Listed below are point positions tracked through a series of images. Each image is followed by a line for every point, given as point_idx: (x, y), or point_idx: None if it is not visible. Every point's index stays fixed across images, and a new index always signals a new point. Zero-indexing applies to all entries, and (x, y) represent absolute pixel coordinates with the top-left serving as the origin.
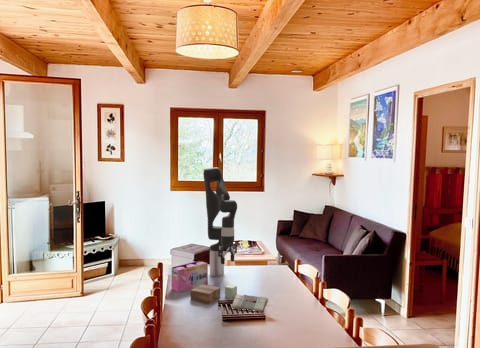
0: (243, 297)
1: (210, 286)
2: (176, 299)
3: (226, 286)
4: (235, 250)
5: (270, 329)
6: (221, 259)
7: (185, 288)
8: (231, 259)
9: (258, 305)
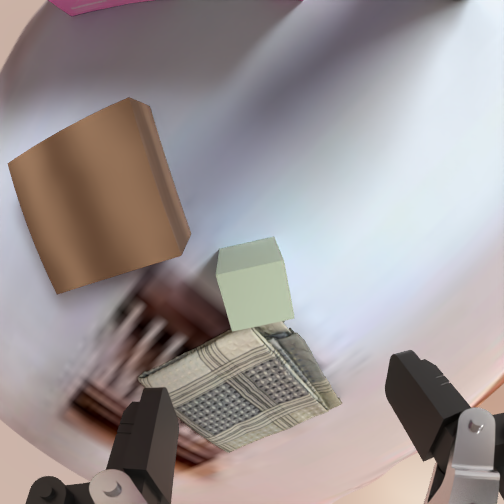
0: (259, 361)
1: (138, 187)
2: (9, 104)
3: (227, 279)
4: (500, 489)
5: None
6: (120, 458)
7: (109, 2)
8: (399, 382)
9: (245, 431)
